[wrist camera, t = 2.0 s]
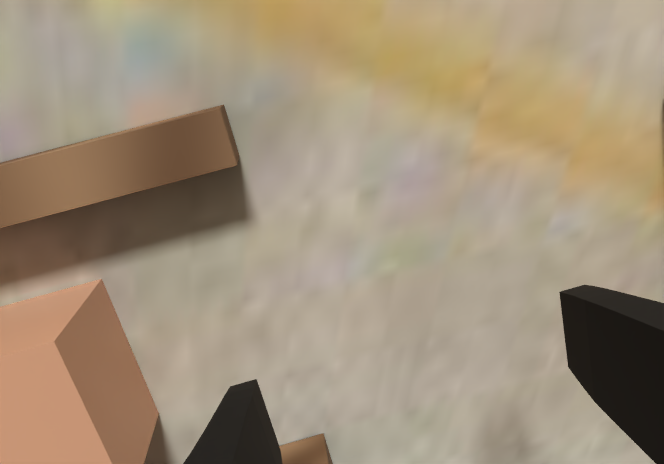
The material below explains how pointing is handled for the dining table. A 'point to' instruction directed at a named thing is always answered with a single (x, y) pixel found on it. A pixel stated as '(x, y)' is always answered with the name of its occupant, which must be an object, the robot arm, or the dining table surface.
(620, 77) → the dining table surface
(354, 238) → the dining table surface
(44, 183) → the channel
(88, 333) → the block
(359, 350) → the dining table surface
